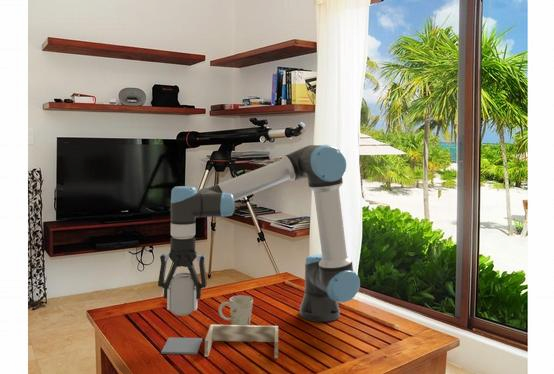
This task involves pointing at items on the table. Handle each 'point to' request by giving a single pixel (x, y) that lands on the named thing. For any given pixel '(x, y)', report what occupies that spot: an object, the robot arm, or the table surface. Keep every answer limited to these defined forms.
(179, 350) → the mat
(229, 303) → the mug
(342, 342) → the table surface
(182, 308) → the can
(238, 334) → the u-shaped shelf bracket
